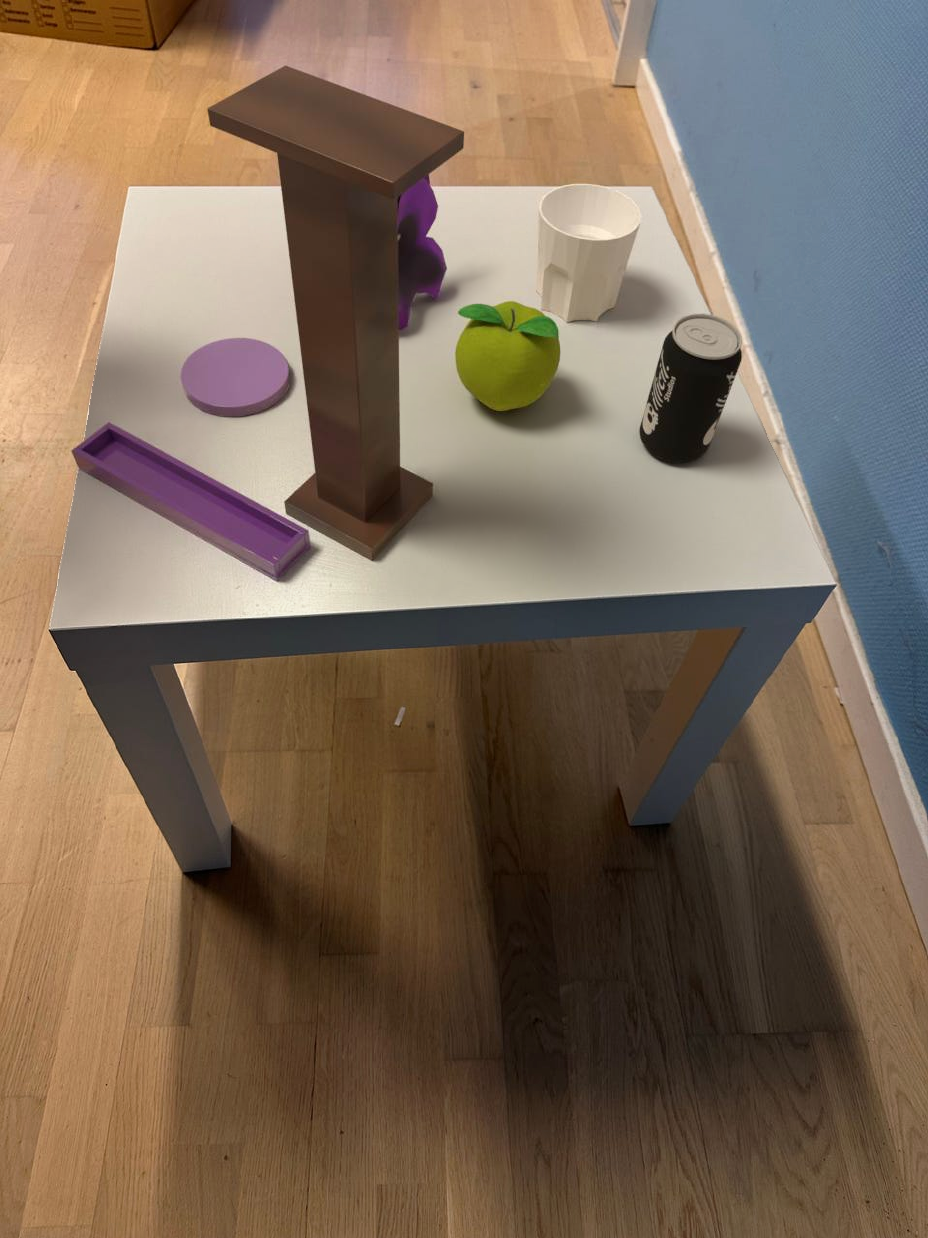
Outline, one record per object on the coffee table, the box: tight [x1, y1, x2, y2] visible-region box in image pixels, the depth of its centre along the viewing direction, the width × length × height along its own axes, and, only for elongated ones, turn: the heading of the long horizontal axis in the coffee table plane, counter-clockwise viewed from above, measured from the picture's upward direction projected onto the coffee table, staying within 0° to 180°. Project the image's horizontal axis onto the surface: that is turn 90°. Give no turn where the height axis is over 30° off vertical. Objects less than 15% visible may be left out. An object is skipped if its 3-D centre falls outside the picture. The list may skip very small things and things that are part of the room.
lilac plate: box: [180, 337, 291, 418], centre depth 85 cm, size 10×10×1 cm
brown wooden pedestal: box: [206, 65, 465, 561], centre depth 64 cm, size 9×13×32 cm
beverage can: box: [638, 313, 743, 464], centre depth 78 cm, size 7×7×12 cm
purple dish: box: [71, 421, 312, 582], centre depth 75 cm, size 4×22×2 cm, turn 58°
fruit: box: [454, 300, 561, 412], centre depth 82 cm, size 9×9×10 cm
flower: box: [397, 174, 448, 331], centre depth 91 cm, size 15×15×14 cm
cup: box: [535, 183, 642, 323], centre depth 91 cm, size 10×10×10 cm
